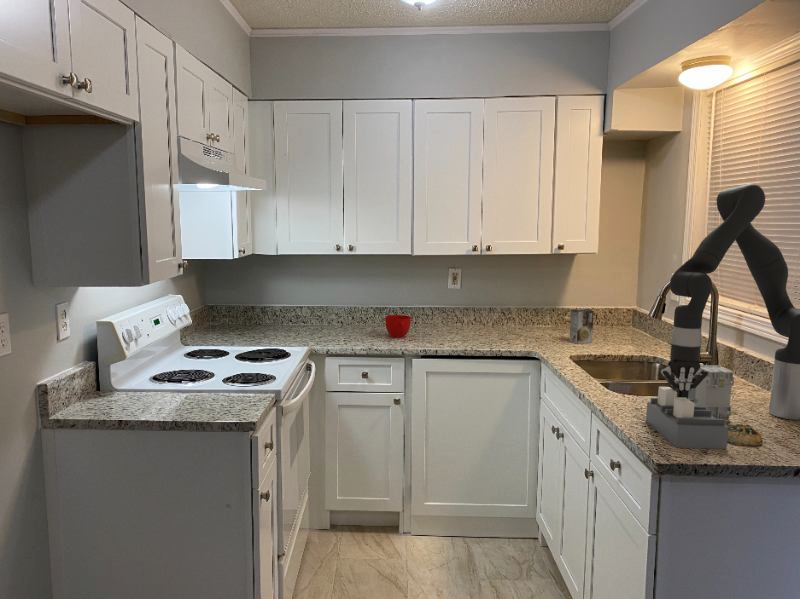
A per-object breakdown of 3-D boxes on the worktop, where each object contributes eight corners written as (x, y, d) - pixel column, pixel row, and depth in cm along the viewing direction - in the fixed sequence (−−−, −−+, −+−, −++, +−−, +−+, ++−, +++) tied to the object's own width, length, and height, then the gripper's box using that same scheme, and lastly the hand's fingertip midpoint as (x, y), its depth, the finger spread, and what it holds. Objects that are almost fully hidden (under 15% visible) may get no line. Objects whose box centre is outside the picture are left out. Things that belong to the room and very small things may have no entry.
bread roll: (742, 430, 162) (744, 414, 161) (771, 451, 152) (775, 434, 150) (706, 433, 161) (708, 417, 159) (734, 454, 150) (737, 437, 149)
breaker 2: (684, 415, 155) (685, 397, 155) (692, 421, 150) (694, 403, 150) (673, 414, 155) (674, 397, 155) (681, 421, 150) (682, 402, 150)
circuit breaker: (703, 405, 184) (707, 360, 182) (730, 421, 170) (734, 372, 168) (680, 405, 184) (684, 360, 182) (705, 420, 170) (710, 372, 168)
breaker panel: (690, 422, 168) (692, 397, 167) (726, 448, 148) (729, 421, 147) (645, 421, 169) (647, 396, 168) (675, 447, 149) (678, 419, 148)
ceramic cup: (389, 341, 275) (390, 320, 274) (382, 334, 292) (382, 315, 290) (415, 340, 278) (416, 320, 277) (407, 333, 295) (407, 314, 293)
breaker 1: (667, 403, 165) (669, 386, 164) (675, 409, 160) (677, 392, 160) (657, 403, 165) (658, 386, 165) (664, 408, 160) (666, 391, 160)
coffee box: (584, 340, 286) (586, 308, 283) (592, 342, 280) (594, 310, 277) (568, 341, 283) (570, 309, 281) (576, 343, 277) (578, 311, 274)
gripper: (703, 340, 163) (698, 398, 166) (656, 339, 164) (652, 397, 166) (716, 345, 156) (711, 406, 158) (668, 345, 156) (663, 406, 159)
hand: (681, 402), depth 162 cm, fingers closed
